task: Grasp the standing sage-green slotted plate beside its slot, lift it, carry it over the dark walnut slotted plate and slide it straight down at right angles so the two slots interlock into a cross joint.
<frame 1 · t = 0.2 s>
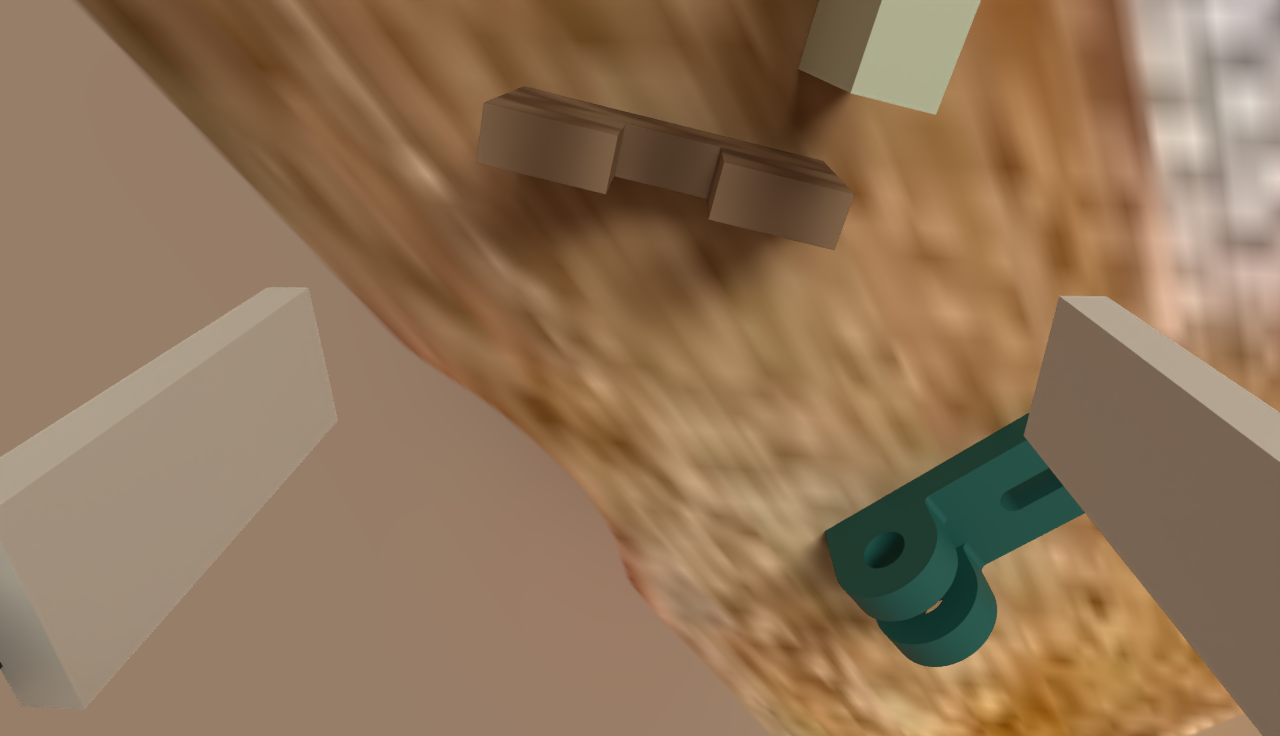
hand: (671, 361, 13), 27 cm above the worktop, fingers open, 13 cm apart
bracket: (971, 492, 47), on the worktop
walnut slotted plate: (669, 148, 38), on the worktop
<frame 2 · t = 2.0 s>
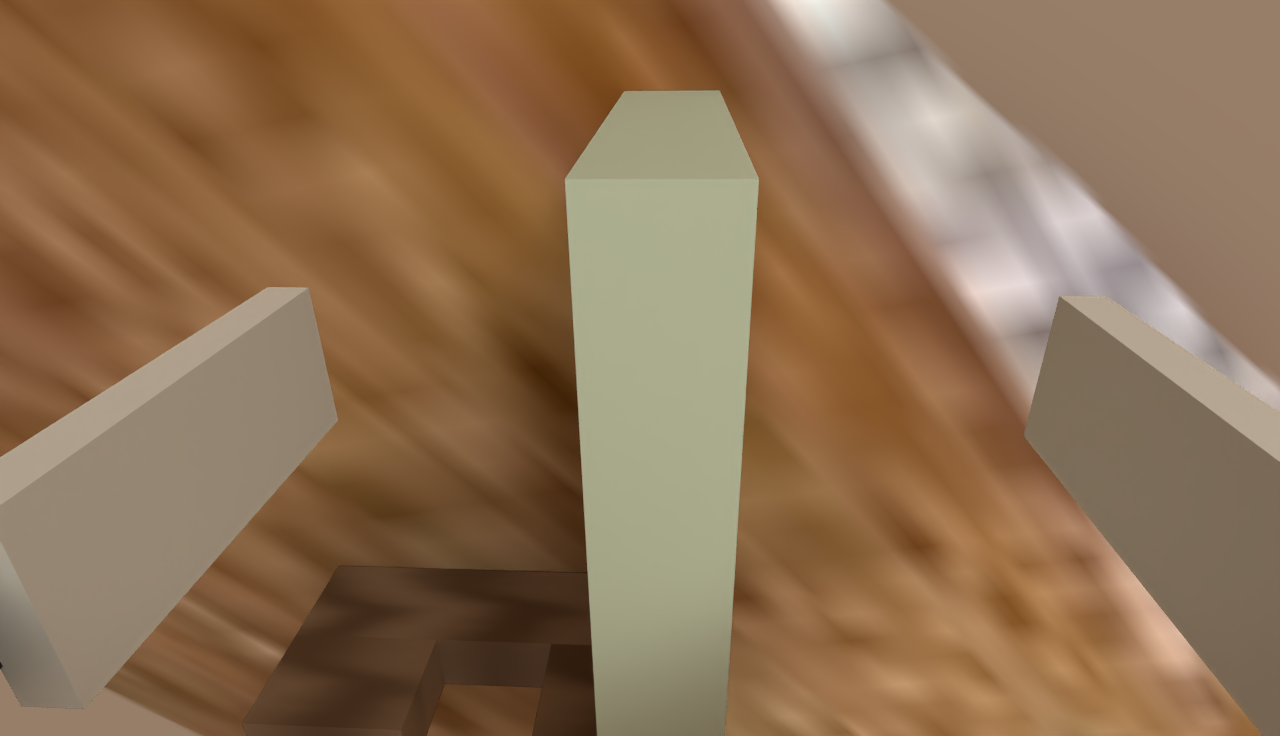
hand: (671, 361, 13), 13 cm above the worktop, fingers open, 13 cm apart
sage slotted plate: (670, 324, 26), on the worktop
walnut slotted plate: (517, 592, 33), on the worktop
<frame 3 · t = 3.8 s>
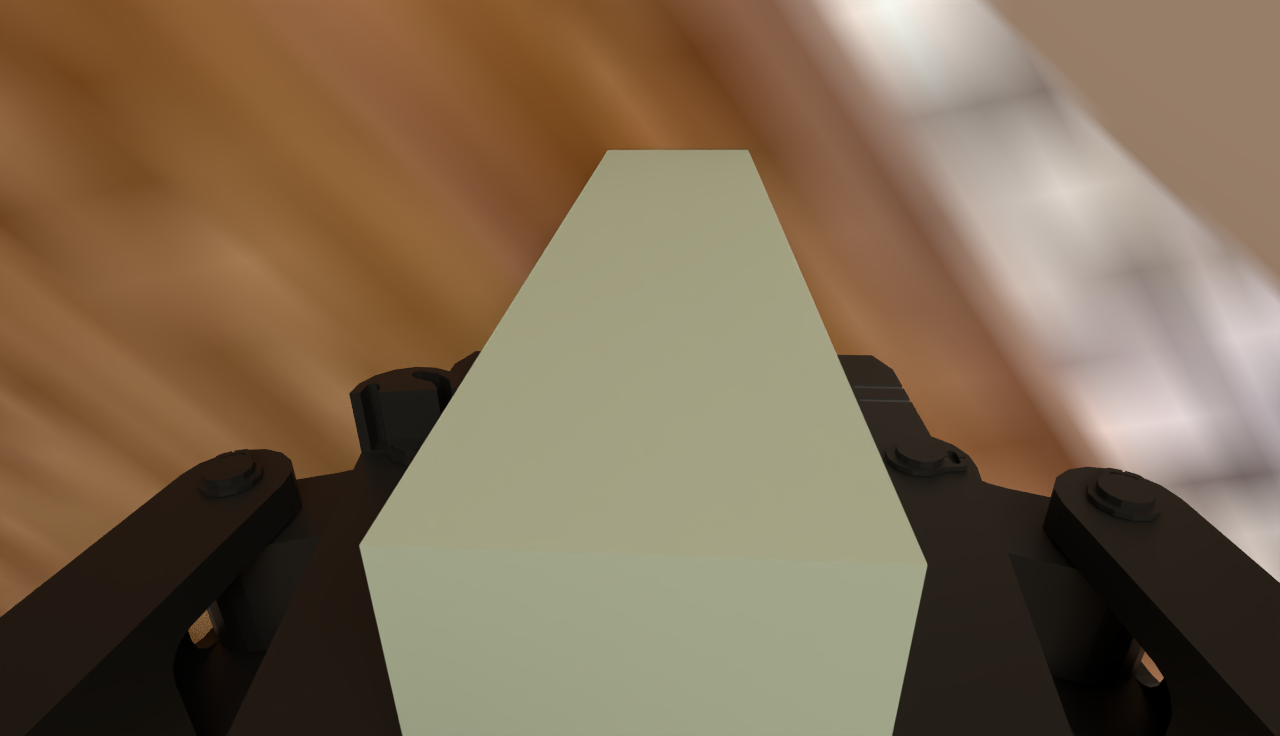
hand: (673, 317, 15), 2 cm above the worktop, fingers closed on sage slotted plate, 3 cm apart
sage slotted plate: (673, 464, 19), on the worktop, touching gripper
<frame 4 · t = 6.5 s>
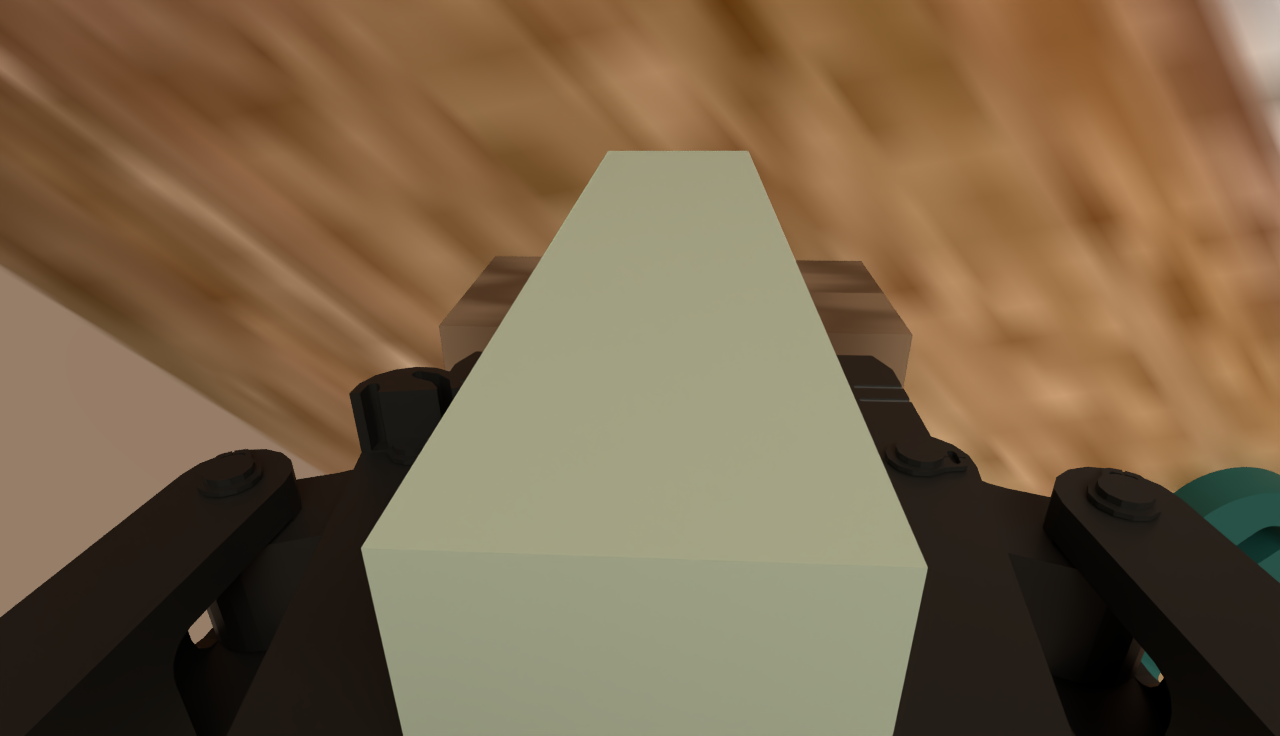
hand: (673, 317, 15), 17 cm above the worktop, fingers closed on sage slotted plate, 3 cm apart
bracket: (1123, 585, 38), on the worktop
sage slotted plate: (674, 464, 19), point 15 cm above the worktop, touching gripper
walnut slotted plate: (675, 286, 32), on the worktop
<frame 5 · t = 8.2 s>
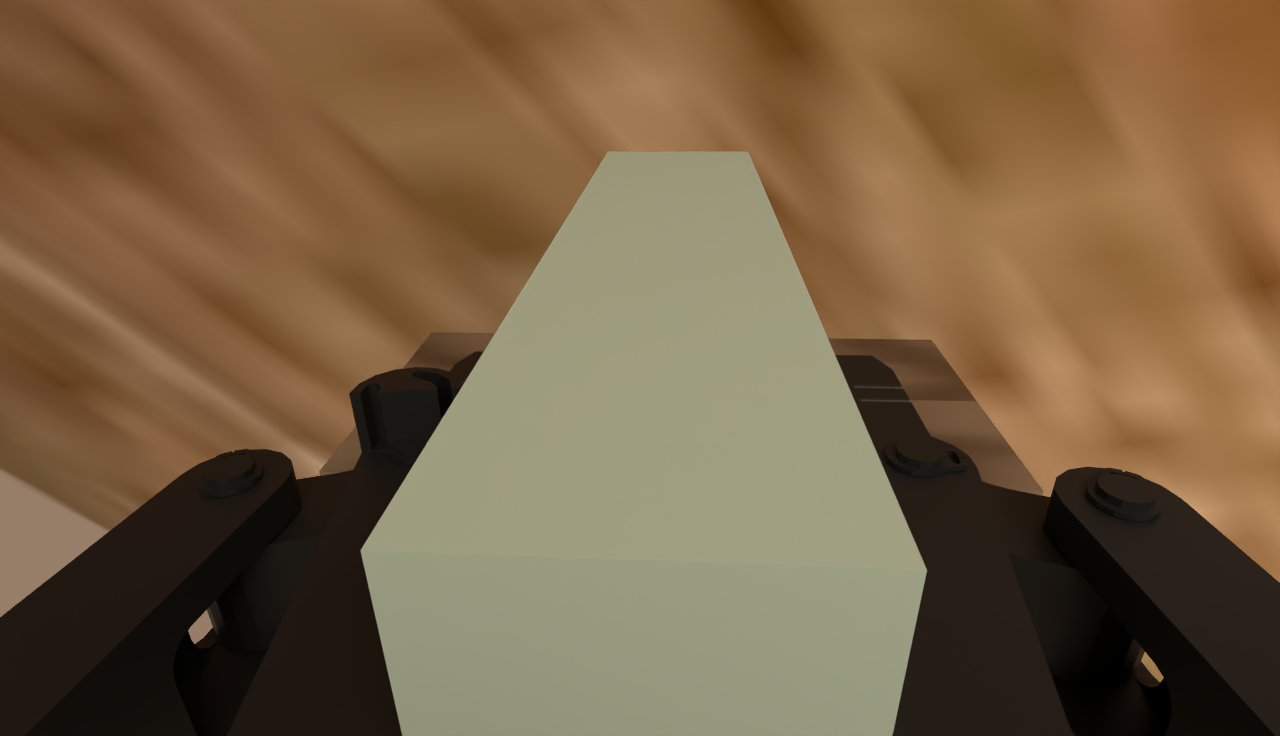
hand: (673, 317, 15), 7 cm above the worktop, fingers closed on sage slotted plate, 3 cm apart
sage slotted plate: (673, 465, 19), point 5 cm above the worktop, touching gripper
walnut slotted plate: (675, 371, 24), on the worktop
when the fingers open (3 cm above the worktop, at t = 9.7 s): sage slotted plate drops 1 cm, on the worktop.
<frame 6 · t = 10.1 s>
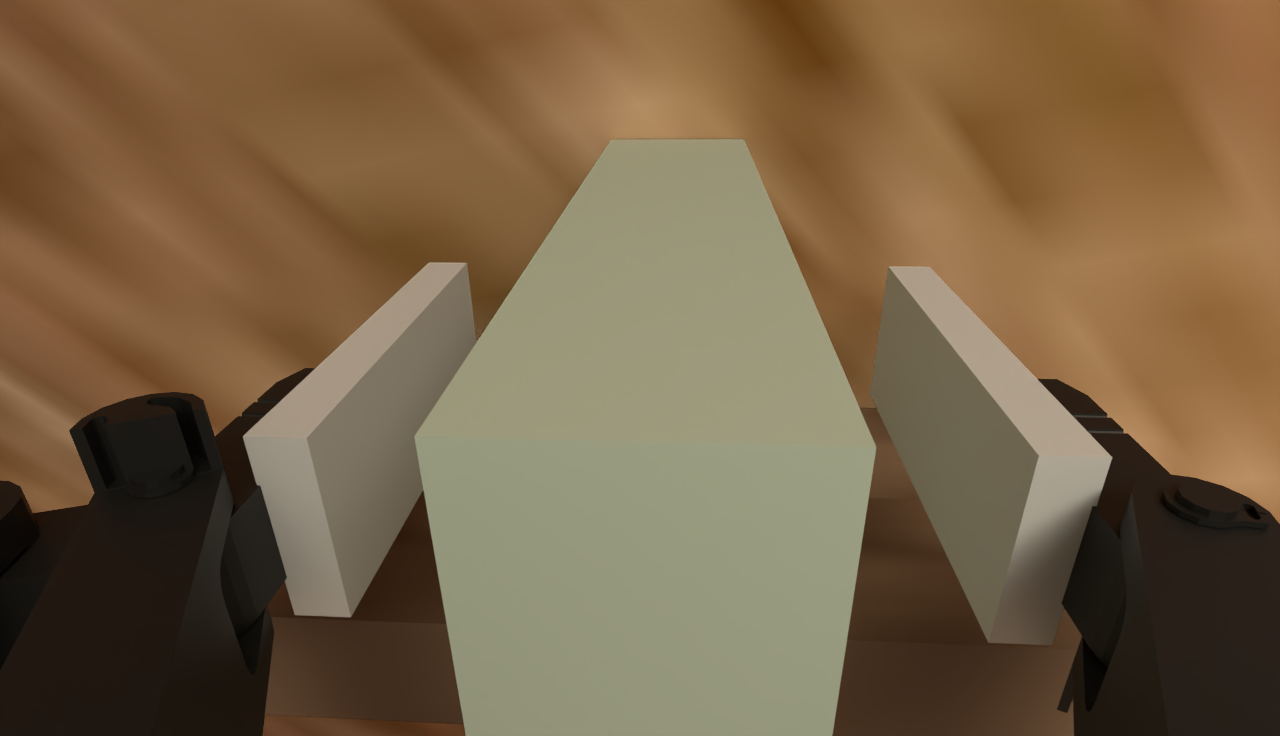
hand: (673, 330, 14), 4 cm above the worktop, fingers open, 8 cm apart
sage slotted plate: (674, 441, 20), on the worktop
walnut slotted plate: (674, 444, 20), on the worktop
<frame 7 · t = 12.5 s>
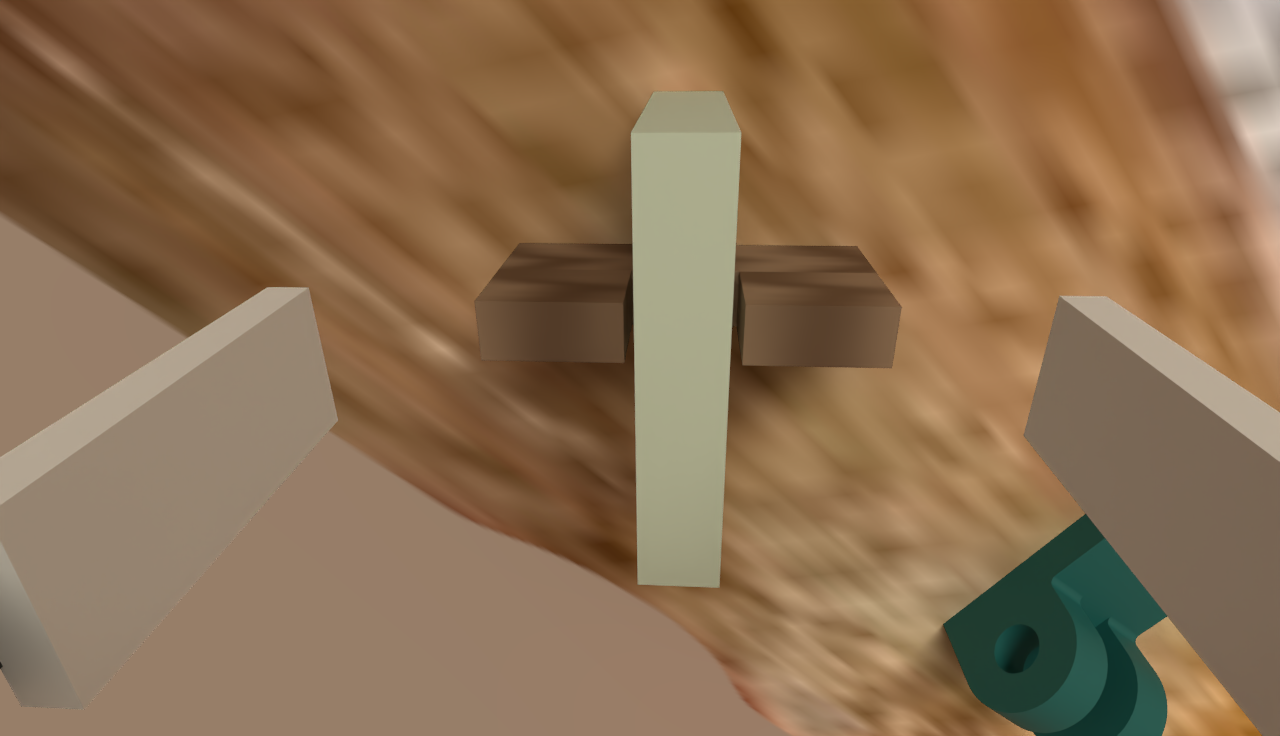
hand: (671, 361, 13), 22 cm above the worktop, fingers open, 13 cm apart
bracket: (1102, 555, 41), on the worktop
sage slotted plate: (685, 268, 35), on the worktop
walnut slotted plate: (685, 270, 35), on the worktop
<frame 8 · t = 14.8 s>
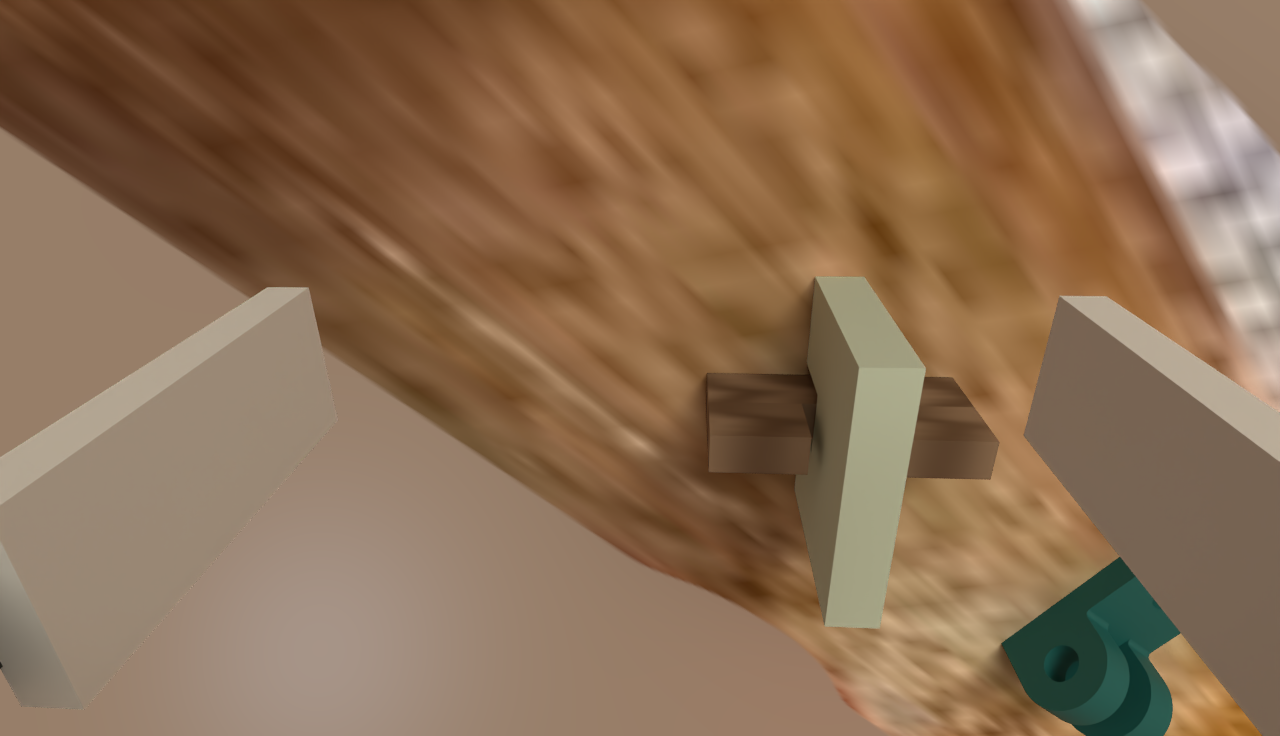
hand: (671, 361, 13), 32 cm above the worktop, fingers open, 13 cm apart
bracket: (1123, 592, 55), on the worktop
sage slotted plate: (826, 391, 48), on the worktop
walnut slotted plate: (826, 392, 48), on the worktop
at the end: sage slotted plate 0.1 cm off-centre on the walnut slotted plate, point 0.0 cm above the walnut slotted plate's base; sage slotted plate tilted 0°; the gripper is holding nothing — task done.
